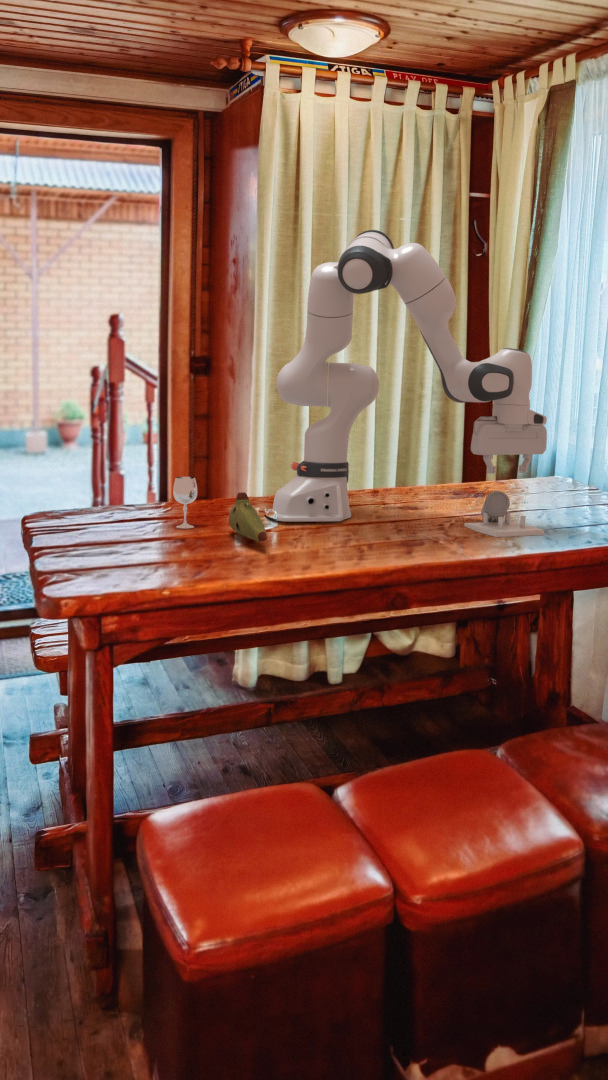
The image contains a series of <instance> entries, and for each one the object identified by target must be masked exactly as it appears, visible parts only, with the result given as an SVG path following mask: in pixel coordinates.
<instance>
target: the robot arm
mask: <svg viewBox="0 0 608 1080" xmlns="http://www.w3.org/2000/svg"><path fill="white" fill-rule="evenodd" d="M309 282H310V283H309V287H308V294H307V304H306V305H307V309H306V326H305V327H306V328H305V329H306V330H305V338H304V342H303V345H302V347H301V349H300V350H299V352H298V353H297V354H296V356H295V357H294V358H293V359H291V361H289V362H288V363H286V364H285V365H284V366H282V368H281V369H280V371H279V372H278V375H277V378H276V391H277V393H278V396H279V397H280V399H282V402H283V401H284V403H287V404H291V405H297V406H299V407H300V406H301V407H327V408H329V409H330V412H329V414H328V415H327V416H326V417H324V418H323V419H319V420H318V421H316V422H314V423H312V424H311V425H309V426H308V427H307V429H306V430H305V431H304V443H303V444H304V447H303V450H304V452H303V459H304V460H302V461H301V462H300V463H298V462H295V461H293V462H291V464H290V469H291V470H292V471H296V476H294V477H293V478H291V480H290V481H288V482H287V483H286V484H284V485H283V486H282V487H281V488H279V489H277V491H276V492H275V494H274V499H273V504H272V510H274V511H276V512H277V520H276V521H279V522H341V521H344V520H347V519H350V518H351V517H352V512H351V508H350V502H349V493H348V483H349V475H350V474H349V473H350V470H349V469H350V468H349V466H350V464H349V462H348V450H349V439H350V433H351V430H352V426H353V424H354V423H355V421H356V419H357V418H358V416H359V415H360V414H361V412H363V411H364V409H366V408H367V407H369V406H370V405H372V403H373V402H375V400H376V398H377V397H378V394H379V391H380V380H379V377H378V374H377V373H376V371H375V369H374V368H373V367H371V366H369V365H368V366H367V365H364V364H363V365H362V364H361V363H359V364H358V363H353V362H352V363H351V362H349V363H348V362H328V361H327V360H328V359H329V358H330V357H332V356H333V355H335V354H337V353H339V352H341V351H343V350H344V349H346V348H347V347H348V346H349V345H350V343H351V341H352V337H353V320H354V319H353V317H354V297H355V294H357V295H361V294H367V293H371V292H375V291H379V290H383V289H386V288H387V287H389V285H390V286H391V287H393V288H394V289H395V290H396V292H397V294H398V295H399V296H400V298H401V300H402V303H404V305H405V306H406V308H407V310H408V311H409V313H410V314H411V316H412V318H413V319H414V322H415V323H416V326H417V328H418V330H419V332H420V334H421V337H422V338H423V340H424V342H425V345H426V347H427V348H428V351H429V352H430V354H431V356H432V358H433V360H434V361H435V364H436V365H437V368H438V370H439V372H440V373H439V374H440V378H441V385H442V389H443V392H444V393H445V395H446V396H447V397H448V398H449V400H451V401H453V402H455V403H458V404H464V403H488V402H491V401H492V416H479V418H477V419H476V420H475V421H474V422H473V432H472V436H471V444H470V451H471V453H472V454H473V455H478V456H483V457H482V459H483V462H484V463H485V465H486V474H490V475H491V474H492V475H493V474H496V473H497V472H496V471H497V470H496V469H497V466H496V465H493V462H492V460H493V458H494V456H500V455H502V456H504V455H505V456H506V455H507V456H508V455H510V456H511V455H514V456H515V455H516V456H517V455H520V456H521V455H522V459H523V461H522V463H521V464H519V465H518V469H517V471H518V473H521V474H526V473H528V469H529V468H528V467H529V465H530V464H531V462H532V460H533V457H534V455H544V453H545V452H546V450H547V444H548V443H547V442H548V441H547V439H548V435H547V434H548V433H547V428H546V426H545V425H546V424H547V419H548V418H547V416H546V415H544V414H541V413H539V412H536V411H534V410H531V400H530V394H531V393H530V392H531V389H532V383H533V364H532V358H531V356H530V354H529V353H528V352H527V351H524V350H522V349H518V348H510V347H503V348H501V349H499V350H498V352H496V353H494V354H493V355H491V356H489V357H487V358H485V359H482V360H480V361H474V362H473V361H469V360H468V359H466V358H465V357H464V356H463V355H462V354H461V351H460V350H459V347H458V346H457V344H456V342H455V340H454V338H453V336H452V334H451V332H450V328H449V322H450V320H451V318H452V316H453V315H454V313H455V310H456V306H457V297H456V294H455V292H454V289H453V287H452V285H451V283H450V281H449V279H448V278H447V276H446V275H445V273H444V272H443V270H442V268H441V267H440V265H439V263H438V261H436V260H435V258H434V257H433V256H432V255H431V254H430V253H429V251H428V250H427V249H426V248H425V247H424V246H423V245H422V244H420V243H418V242H408V243H406V244H403V245H401V246H399V247H398V248H395V247H394V244H393V241H392V240H391V238H390V237H389V236H388V234H386V233H384V232H383V231H382V230H379V229H378V230H377V229H368V230H364V231H361V232H360V233H359V234H357V236H356V237H355V238H353V239H352V241H351V242H350V243H348V244H347V246H346V248H345V250H344V251H343V253H342V254H341V255H340V257H339V260H338V261H332V262H331V261H330V262H329V261H328V262H324V263H323V262H322V263H321V264H319V265H317V266H316V267H315V268H314V269H313V270H312V273H311V277H310V280H309Z"/></svg>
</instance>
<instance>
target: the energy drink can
mask: <svg viewBox="0 0 608 1080" xmlns="http://www.w3.org/2000/svg"><path fill="white" fill-rule="evenodd" d="M510 501H511V500H510V498H509V496H508V495H507V494H506V493H505V492H503V491H501V490H493V491H492V492H489V494H487V496H486V498H485V499H484V502H483V505H482V508H481V510H480V515H481V518H482V519H483V515H484V513H488V522H498V517H503V519H505V514H506V512H508V510H509V508H510V505H511V503H510Z"/></svg>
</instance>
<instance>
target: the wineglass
mask: <svg viewBox="0 0 608 1080" xmlns="http://www.w3.org/2000/svg"><path fill="white" fill-rule="evenodd" d="M172 493H173V498H174V500H175V501H176V502H178V503H180V504H182V505H183V507H182V510H183V515H184V518H183V523H181V524H180V525H179V524H178V525H175V528H176V529H194V528H195V526H194V525H191V524H189V523H188V522H187V513H188V512H187V511H188V506H187V505H188V504H191V503H193V502H194V501H195V500H196V499H197V497H198V485H197V480H196V477H193V476H176V477H175V479H174V483H173V492H172Z"/></svg>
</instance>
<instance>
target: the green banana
mask: <svg viewBox="0 0 608 1080" xmlns="http://www.w3.org/2000/svg"><path fill="white" fill-rule="evenodd" d="M228 523H229V525H230V526H229V527H230V528H231V529H232V530H233V531H235V533H237V534H239V535H241V536H242V537H245V538H247V539H251V540H254V541H257V542H265V541H267V540H268V536H267V531H266V528H265V526H264V523H263V521H262V519H261V517H260V515H259V514H258V512H257V510H256V509H255V508H254V507H253V505H252V504H251V502H250V499H249V497H248V494H247V493H246V492H243V491H242V492H237V495H236V498H235V503H234V504H233V505H232V507H231V509H230V511H229V514H228Z"/></svg>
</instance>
